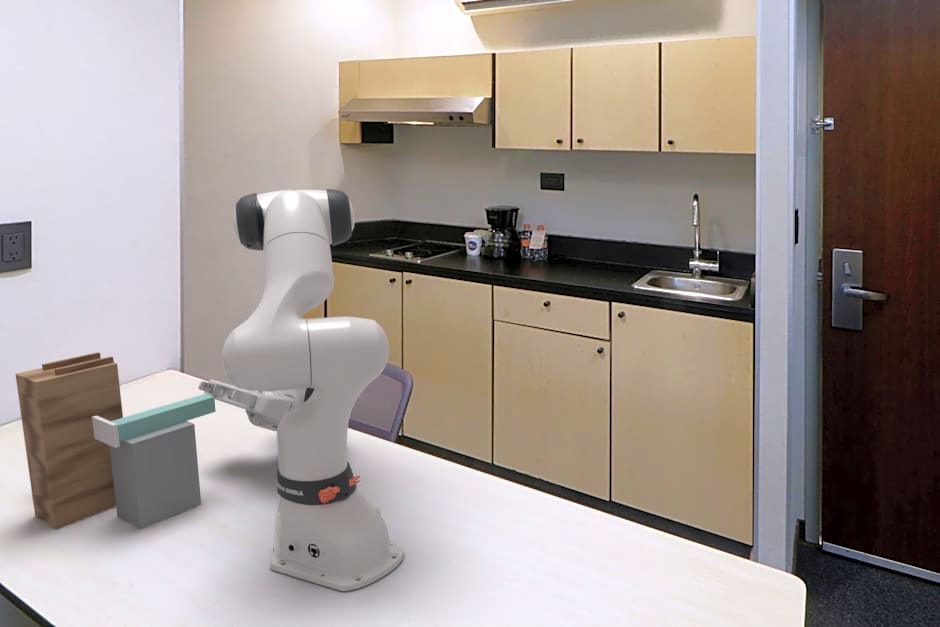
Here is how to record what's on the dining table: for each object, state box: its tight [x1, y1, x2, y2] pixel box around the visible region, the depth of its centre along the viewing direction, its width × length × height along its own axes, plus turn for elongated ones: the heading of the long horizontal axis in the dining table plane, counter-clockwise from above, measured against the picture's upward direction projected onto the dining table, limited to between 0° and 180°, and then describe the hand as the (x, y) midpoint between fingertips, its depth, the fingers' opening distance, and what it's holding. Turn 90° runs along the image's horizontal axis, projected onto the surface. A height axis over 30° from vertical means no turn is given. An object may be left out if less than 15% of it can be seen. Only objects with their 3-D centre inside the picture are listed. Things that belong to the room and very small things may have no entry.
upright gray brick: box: [109, 420, 202, 530], centre depth 137 cm, size 8×12×16 cm, turn 143°
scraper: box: [92, 393, 217, 448], centre depth 137 cm, size 7×21×4 cm, turn 143°
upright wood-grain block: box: [15, 352, 124, 530], centre depth 137 cm, size 8×14×28 cm, turn 143°
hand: (215, 389), depth 146 cm, fingers open, 8 cm apart
